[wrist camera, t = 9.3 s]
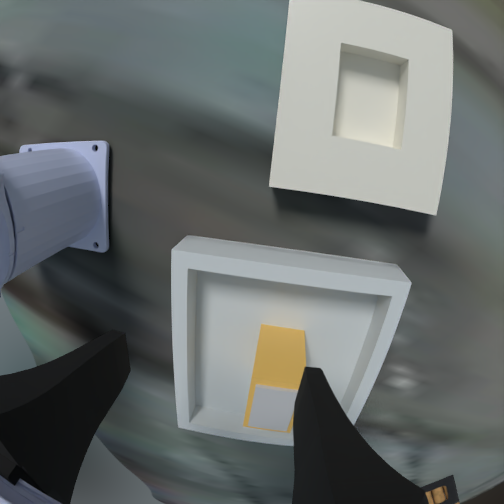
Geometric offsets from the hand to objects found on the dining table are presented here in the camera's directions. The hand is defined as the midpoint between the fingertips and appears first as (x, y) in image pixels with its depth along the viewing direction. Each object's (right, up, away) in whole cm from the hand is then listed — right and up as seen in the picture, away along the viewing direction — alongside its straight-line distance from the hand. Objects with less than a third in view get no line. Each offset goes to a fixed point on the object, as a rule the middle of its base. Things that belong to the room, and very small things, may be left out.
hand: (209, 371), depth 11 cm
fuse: (+3, -3, +10) cm, 11 cm away
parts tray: (+4, -3, +11) cm, 12 cm away
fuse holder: (+8, +14, +5) cm, 17 cm away
